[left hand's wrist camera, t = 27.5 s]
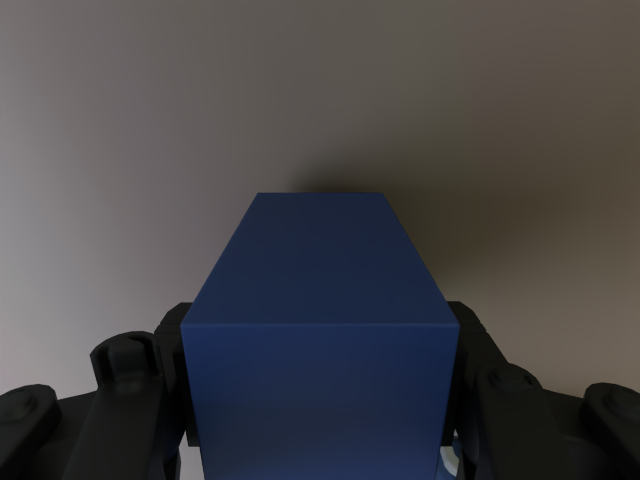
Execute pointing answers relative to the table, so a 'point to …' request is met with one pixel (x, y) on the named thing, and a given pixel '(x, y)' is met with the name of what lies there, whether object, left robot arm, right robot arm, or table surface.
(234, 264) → the block
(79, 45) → the table surface
